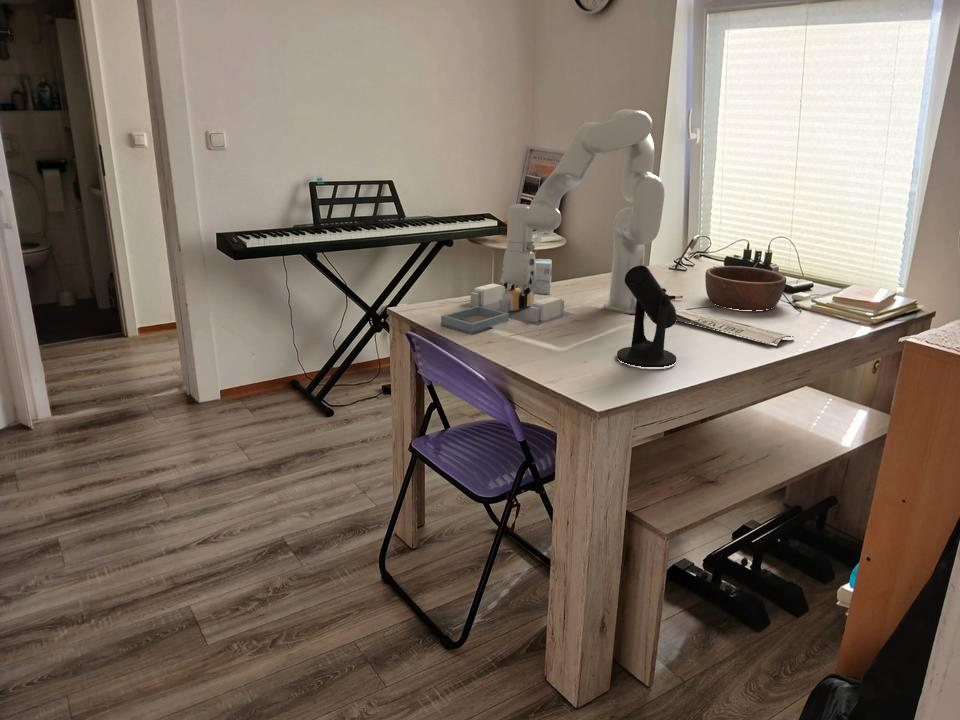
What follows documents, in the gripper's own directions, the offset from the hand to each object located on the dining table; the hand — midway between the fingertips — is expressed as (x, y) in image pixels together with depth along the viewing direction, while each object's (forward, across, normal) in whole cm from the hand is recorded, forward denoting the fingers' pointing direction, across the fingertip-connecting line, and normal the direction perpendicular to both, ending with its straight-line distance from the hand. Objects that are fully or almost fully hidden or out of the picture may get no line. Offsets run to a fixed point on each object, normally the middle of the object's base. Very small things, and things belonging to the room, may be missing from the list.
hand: (517, 305), depth 235 cm
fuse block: (+2, 0, 0) cm, 2 cm away
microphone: (+3, -51, +11) cm, 52 cm away
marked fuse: (0, 0, 0) cm, 0 cm away
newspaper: (+3, -54, -30) cm, 62 cm away
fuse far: (+1, +12, 0) cm, 12 cm away
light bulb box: (+2, +12, -25) cm, 28 cm away
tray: (+2, 0, +19) cm, 19 cm away
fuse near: (+1, -11, 0) cm, 11 cm away
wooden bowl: (+3, -45, -62) cm, 76 cm away
